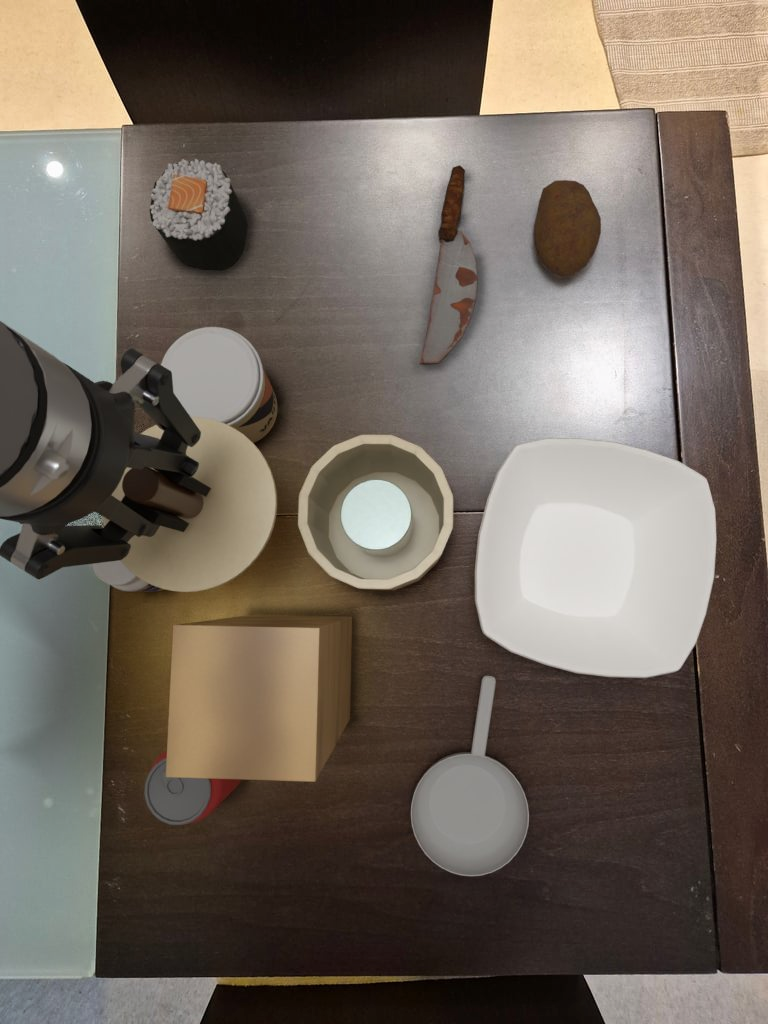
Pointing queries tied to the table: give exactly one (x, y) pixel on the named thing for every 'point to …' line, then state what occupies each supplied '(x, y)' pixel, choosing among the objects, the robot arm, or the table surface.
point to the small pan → (470, 805)
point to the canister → (377, 517)
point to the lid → (204, 513)
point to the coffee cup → (222, 380)
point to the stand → (258, 696)
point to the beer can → (183, 794)
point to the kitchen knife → (451, 278)
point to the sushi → (199, 215)
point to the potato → (566, 228)
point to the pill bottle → (121, 577)
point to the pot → (369, 462)
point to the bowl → (596, 557)
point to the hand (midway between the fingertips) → (182, 501)
